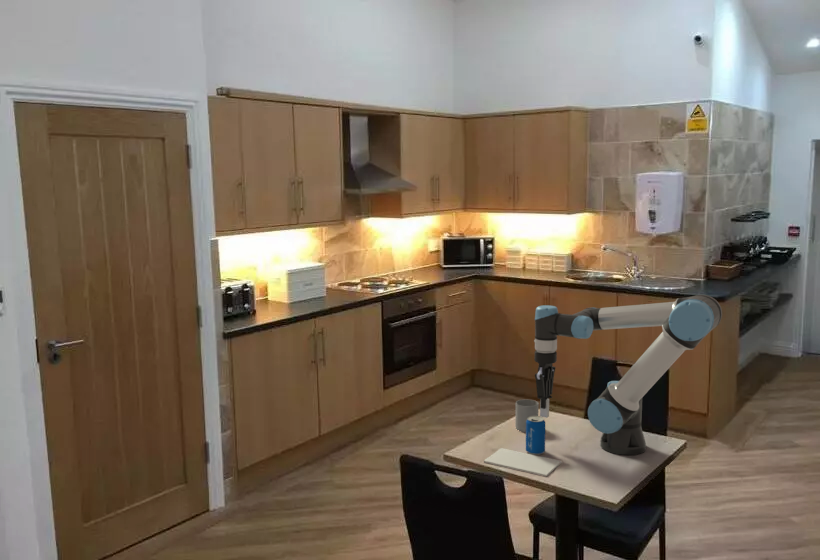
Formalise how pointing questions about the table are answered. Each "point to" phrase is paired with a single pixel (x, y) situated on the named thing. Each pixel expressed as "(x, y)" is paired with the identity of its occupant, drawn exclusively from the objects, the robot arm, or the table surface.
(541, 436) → the beverage can
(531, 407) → the cup
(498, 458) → the flat white box
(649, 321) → the robot arm
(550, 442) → the table surface
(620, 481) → the table surface
